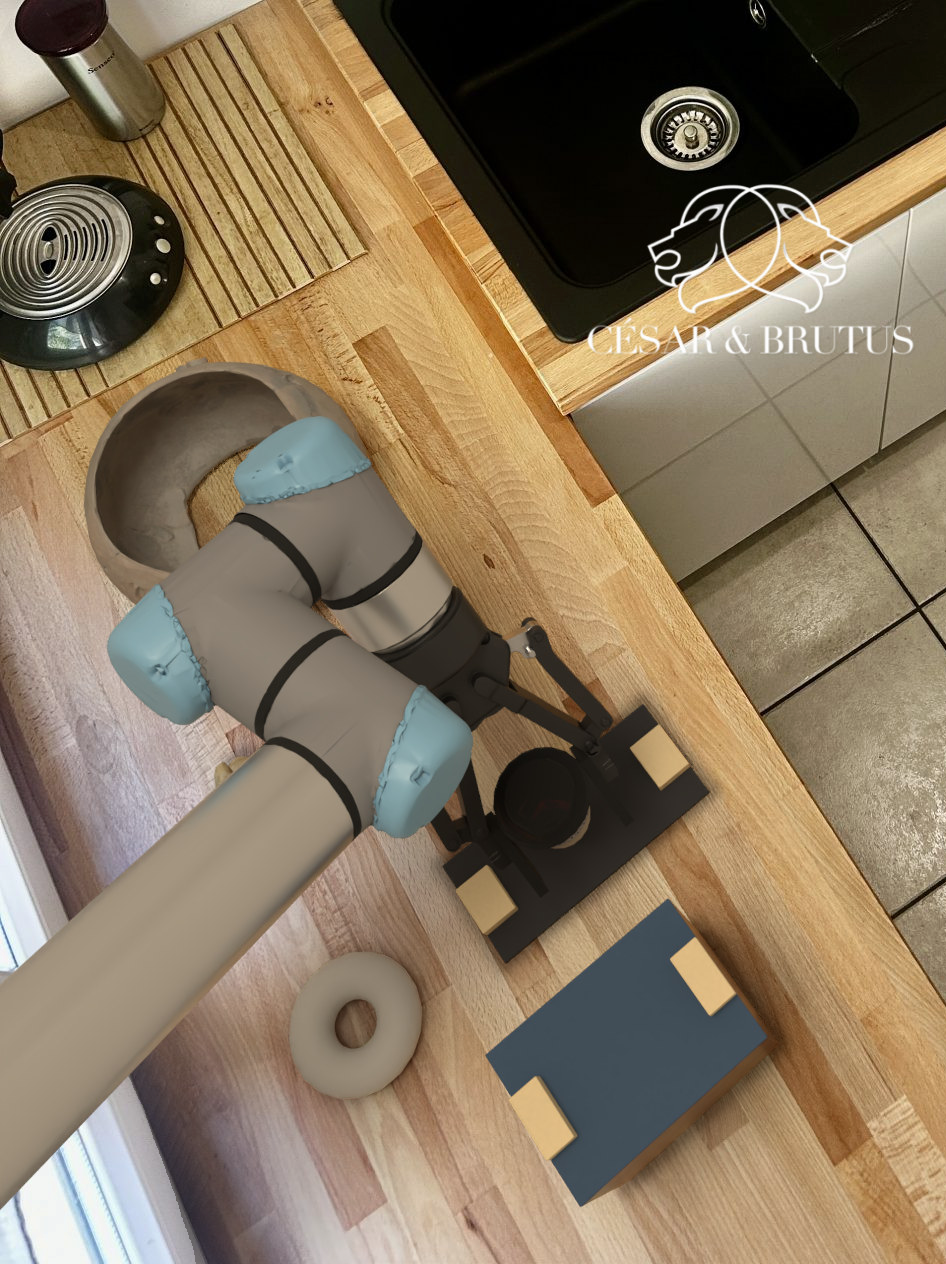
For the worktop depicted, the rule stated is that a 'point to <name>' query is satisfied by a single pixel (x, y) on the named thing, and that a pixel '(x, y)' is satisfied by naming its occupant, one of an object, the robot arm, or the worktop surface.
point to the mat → (582, 839)
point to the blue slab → (624, 1051)
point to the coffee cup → (543, 799)
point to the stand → (708, 1098)
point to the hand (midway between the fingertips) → (581, 849)
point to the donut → (392, 1039)
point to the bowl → (182, 459)
